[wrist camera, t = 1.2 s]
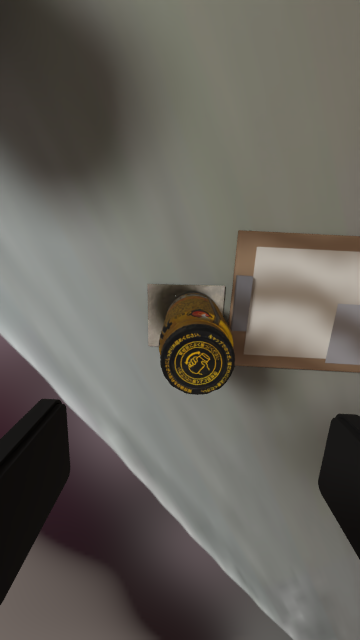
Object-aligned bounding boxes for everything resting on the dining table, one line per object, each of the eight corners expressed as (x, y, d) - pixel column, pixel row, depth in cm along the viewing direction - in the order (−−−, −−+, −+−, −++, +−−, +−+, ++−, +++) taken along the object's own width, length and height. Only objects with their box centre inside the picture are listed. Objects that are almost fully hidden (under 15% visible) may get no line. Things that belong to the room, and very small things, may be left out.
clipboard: (238, 230, 26) (240, 229, 25) (452, 241, 26) (464, 241, 25) (224, 363, 30) (226, 367, 29) (409, 373, 30) (418, 378, 29)
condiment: (220, 347, 30) (242, 409, 18) (148, 345, 30) (125, 405, 18) (224, 285, 28) (252, 309, 16) (147, 283, 28) (120, 306, 16)
